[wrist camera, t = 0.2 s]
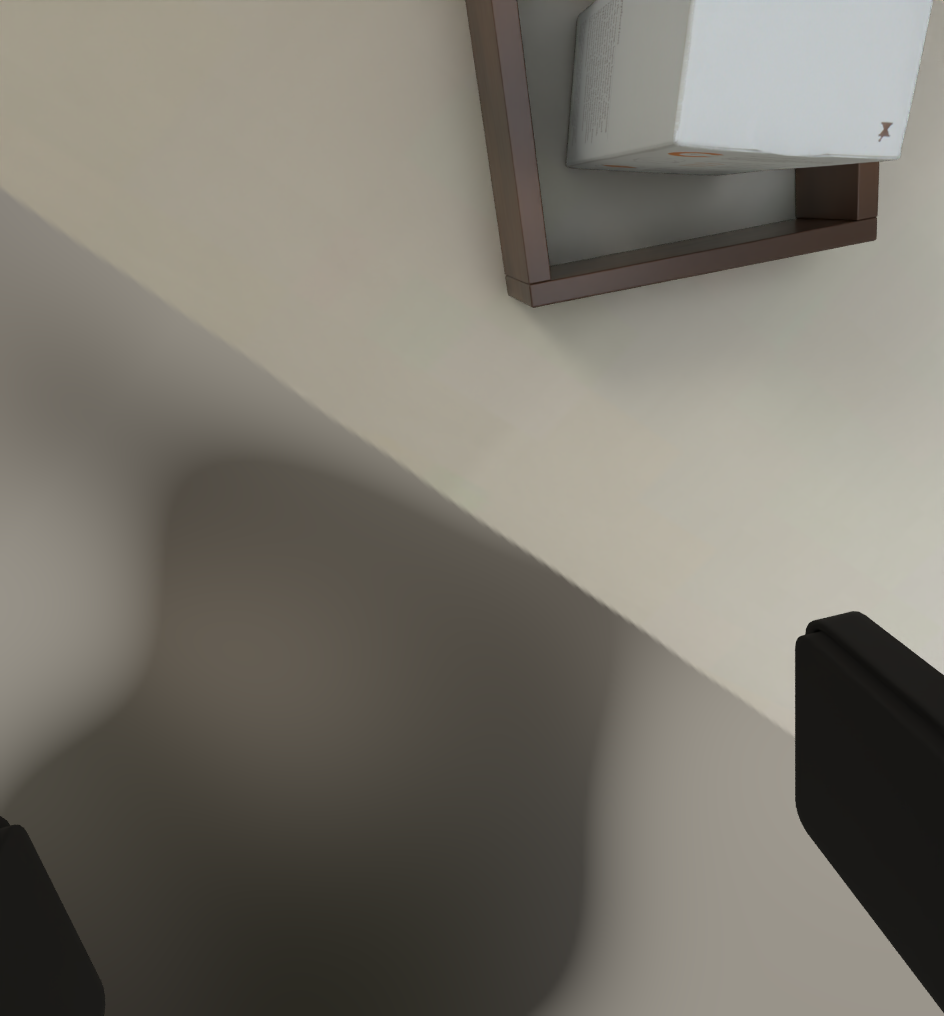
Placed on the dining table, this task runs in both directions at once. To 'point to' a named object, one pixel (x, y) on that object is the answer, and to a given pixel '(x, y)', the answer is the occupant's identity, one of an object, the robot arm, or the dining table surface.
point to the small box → (742, 83)
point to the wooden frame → (530, 279)
